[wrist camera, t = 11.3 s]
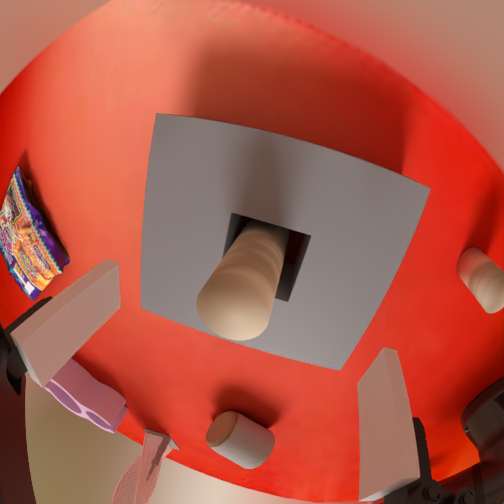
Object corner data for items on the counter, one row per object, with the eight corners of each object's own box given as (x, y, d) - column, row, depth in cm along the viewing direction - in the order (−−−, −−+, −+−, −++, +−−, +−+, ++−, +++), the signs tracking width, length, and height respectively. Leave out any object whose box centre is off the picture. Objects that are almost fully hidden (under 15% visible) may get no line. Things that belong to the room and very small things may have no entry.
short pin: (487, 253, 20) (518, 281, 14) (473, 283, 21) (498, 316, 16) (466, 242, 20) (497, 271, 14) (451, 274, 21) (476, 309, 16)
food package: (91, 274, 32) (70, 290, 28) (36, 309, 41) (22, 321, 37) (28, 140, 26) (5, 145, 22) (-11, 217, 34) (-25, 224, 31)
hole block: (401, 174, 19) (430, 188, 14) (337, 327, 26) (340, 370, 21) (192, 116, 21) (156, 113, 15) (170, 276, 28) (141, 308, 22)
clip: (124, 389, 41) (107, 415, 35) (130, 417, 47) (117, 439, 41) (50, 342, 43) (31, 362, 37) (63, 376, 48) (48, 394, 42)
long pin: (295, 215, 23) (278, 293, 12) (284, 252, 24) (259, 348, 13) (253, 203, 23) (200, 269, 12) (245, 241, 24) (193, 327, 14)
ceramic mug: (238, 401, 35) (224, 445, 28) (279, 425, 36) (270, 466, 29) (201, 417, 39) (185, 453, 33) (238, 438, 40) (227, 473, 34)
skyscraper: (182, 450, 50) (142, 542, 24) (153, 442, 51) (111, 526, 26) (170, 434, 46) (121, 535, 21) (139, 425, 48) (89, 517, 23)
